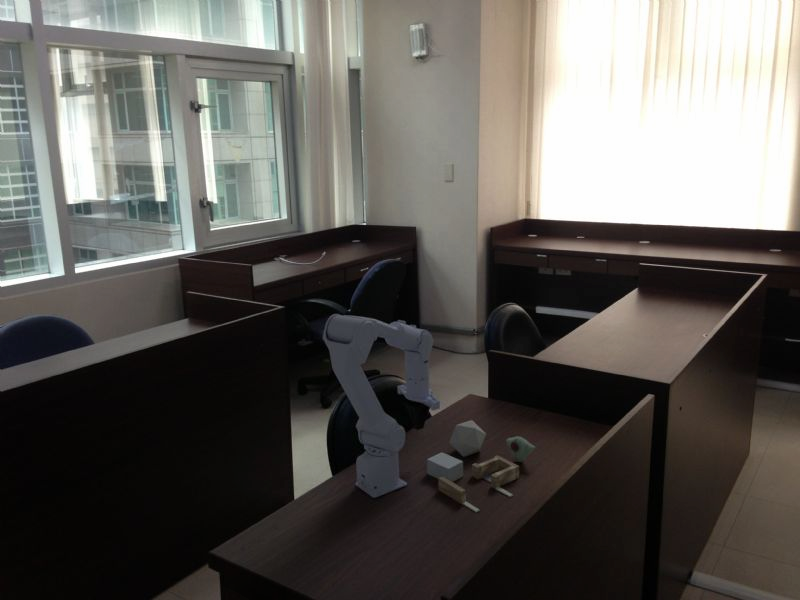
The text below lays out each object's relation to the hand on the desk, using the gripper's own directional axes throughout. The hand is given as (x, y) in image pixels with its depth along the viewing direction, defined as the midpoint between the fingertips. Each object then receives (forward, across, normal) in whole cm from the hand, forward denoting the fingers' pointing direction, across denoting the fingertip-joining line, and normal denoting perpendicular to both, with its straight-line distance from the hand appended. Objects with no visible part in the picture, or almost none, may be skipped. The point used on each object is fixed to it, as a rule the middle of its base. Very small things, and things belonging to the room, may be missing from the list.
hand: (418, 428), depth 168 cm
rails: (+8, -25, 0) cm, 26 cm away
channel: (+9, -19, -3) cm, 21 cm away
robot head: (+9, -16, -18) cm, 26 cm away
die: (+9, -4, -12) cm, 15 cm away
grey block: (+9, -10, 0) cm, 13 cm away
